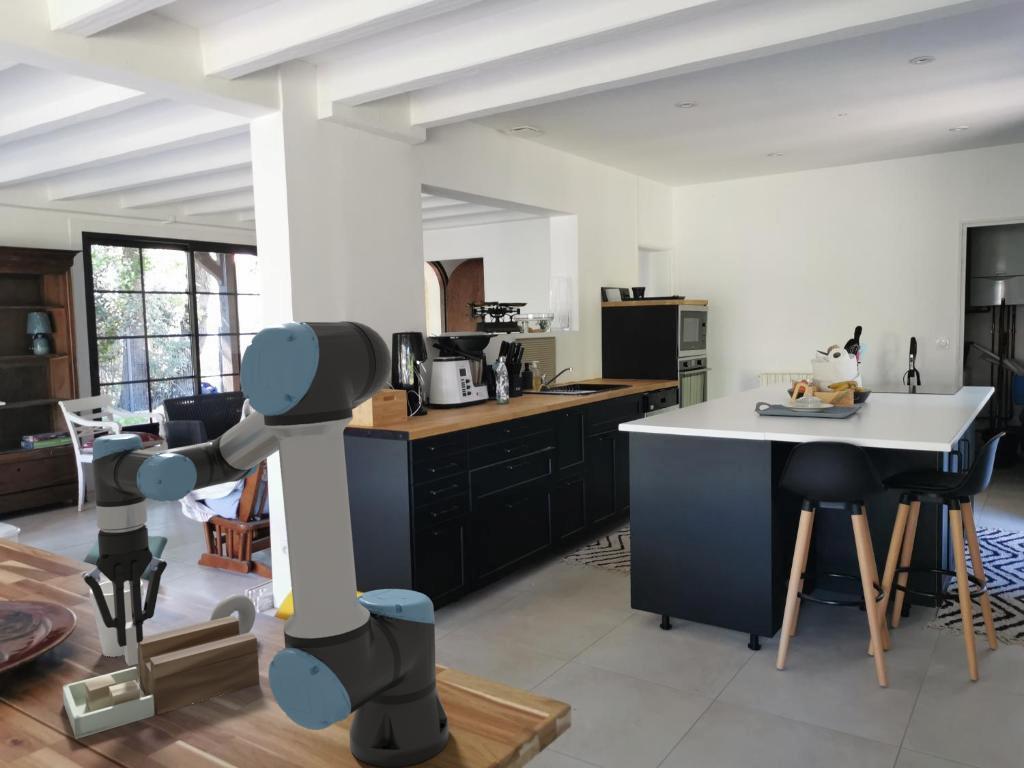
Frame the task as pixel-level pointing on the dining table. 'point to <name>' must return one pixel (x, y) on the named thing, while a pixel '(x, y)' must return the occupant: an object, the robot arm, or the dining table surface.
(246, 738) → the dining table surface
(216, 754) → the dining table surface
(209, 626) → the slot board
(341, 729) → the dining table surface
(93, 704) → the tan wooden cube
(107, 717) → the tray
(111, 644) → the foam cup
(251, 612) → the donut
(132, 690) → the beige wooden cube
